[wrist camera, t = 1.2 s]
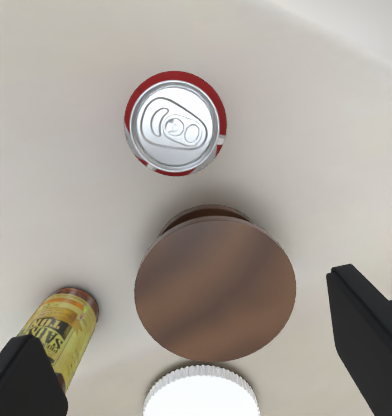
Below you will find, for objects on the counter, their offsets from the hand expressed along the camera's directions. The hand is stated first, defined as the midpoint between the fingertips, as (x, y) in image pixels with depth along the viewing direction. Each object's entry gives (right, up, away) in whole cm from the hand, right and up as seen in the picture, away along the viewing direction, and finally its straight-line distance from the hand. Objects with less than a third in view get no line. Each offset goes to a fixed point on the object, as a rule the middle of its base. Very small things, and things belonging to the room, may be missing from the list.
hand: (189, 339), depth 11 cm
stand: (+2, -1, +26) cm, 26 cm away
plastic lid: (+1, -20, +32) cm, 38 cm away
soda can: (-1, +13, +21) cm, 25 cm away
